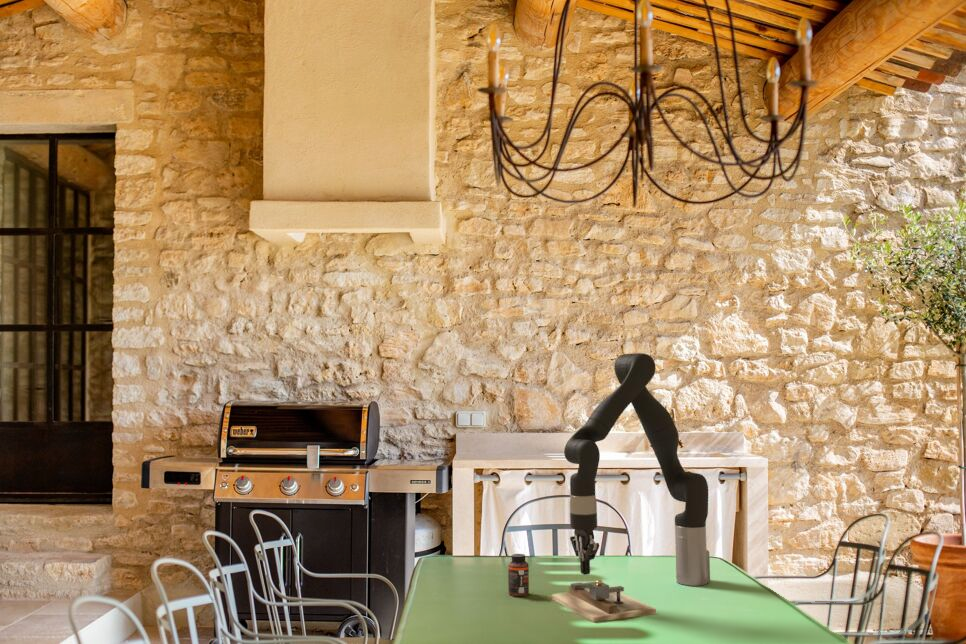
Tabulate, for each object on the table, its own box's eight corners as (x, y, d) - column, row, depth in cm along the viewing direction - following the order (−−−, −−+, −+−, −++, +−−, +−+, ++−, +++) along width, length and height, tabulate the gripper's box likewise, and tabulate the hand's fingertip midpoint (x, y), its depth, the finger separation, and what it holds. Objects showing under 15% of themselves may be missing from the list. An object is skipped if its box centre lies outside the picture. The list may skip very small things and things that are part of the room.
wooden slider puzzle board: (609, 591, 234) (608, 580, 234) (656, 613, 211) (655, 601, 212) (551, 598, 227) (551, 587, 227) (593, 622, 204) (593, 609, 205)
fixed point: (598, 590, 229) (598, 580, 229) (602, 592, 227) (602, 582, 227) (571, 593, 226) (570, 583, 226) (575, 595, 224) (574, 585, 224)
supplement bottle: (527, 597, 228) (526, 557, 229) (506, 596, 229) (506, 556, 230) (530, 592, 234) (529, 553, 235) (510, 591, 235) (509, 552, 236)
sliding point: (619, 599, 219) (618, 576, 219) (626, 602, 215) (625, 579, 216) (589, 603, 215) (589, 579, 216) (596, 606, 212) (595, 583, 212)
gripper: (607, 513, 219) (609, 577, 218) (583, 506, 231) (585, 567, 230) (583, 515, 216) (585, 580, 215) (560, 508, 228) (562, 570, 227)
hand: (585, 573), depth 222 cm, fingers closed
